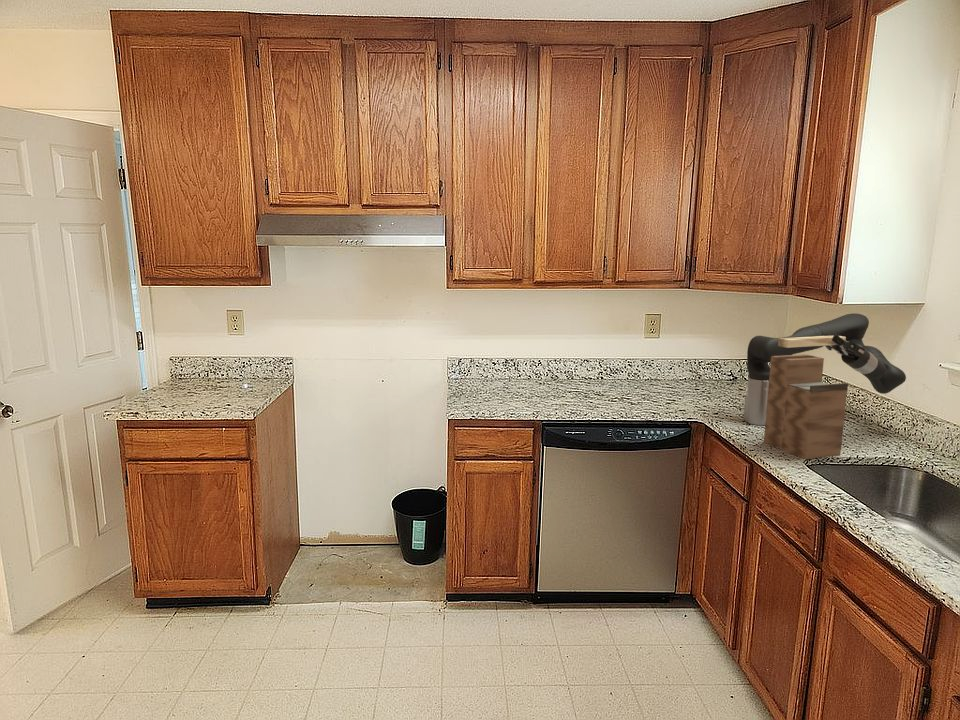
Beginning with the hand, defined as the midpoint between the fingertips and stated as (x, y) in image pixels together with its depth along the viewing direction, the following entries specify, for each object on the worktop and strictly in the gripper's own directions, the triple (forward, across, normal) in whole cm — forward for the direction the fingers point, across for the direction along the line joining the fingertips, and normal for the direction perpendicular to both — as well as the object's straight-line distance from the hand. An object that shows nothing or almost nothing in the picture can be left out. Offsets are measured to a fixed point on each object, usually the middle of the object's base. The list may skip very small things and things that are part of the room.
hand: (828, 336), depth 207 cm
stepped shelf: (-8, +5, +38) cm, 39 cm away
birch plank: (+4, 0, +6) cm, 7 cm away
